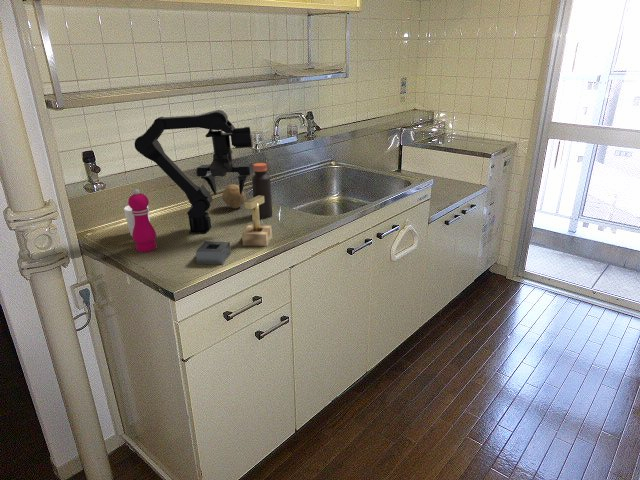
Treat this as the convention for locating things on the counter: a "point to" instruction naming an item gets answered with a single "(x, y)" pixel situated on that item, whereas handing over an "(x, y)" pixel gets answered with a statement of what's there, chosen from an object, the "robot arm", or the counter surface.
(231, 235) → the counter surface
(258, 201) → the T-key
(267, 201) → the bottle
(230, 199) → the natural sponge
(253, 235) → the tan square ring block
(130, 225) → the white cup
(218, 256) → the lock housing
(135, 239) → the pepper mill
